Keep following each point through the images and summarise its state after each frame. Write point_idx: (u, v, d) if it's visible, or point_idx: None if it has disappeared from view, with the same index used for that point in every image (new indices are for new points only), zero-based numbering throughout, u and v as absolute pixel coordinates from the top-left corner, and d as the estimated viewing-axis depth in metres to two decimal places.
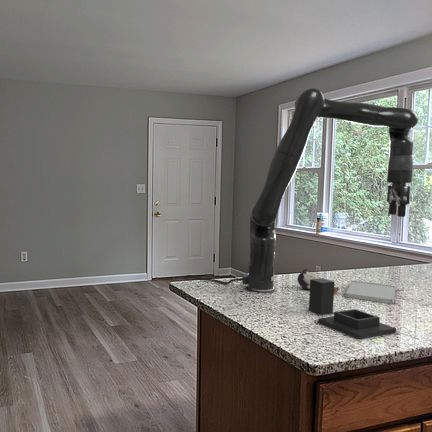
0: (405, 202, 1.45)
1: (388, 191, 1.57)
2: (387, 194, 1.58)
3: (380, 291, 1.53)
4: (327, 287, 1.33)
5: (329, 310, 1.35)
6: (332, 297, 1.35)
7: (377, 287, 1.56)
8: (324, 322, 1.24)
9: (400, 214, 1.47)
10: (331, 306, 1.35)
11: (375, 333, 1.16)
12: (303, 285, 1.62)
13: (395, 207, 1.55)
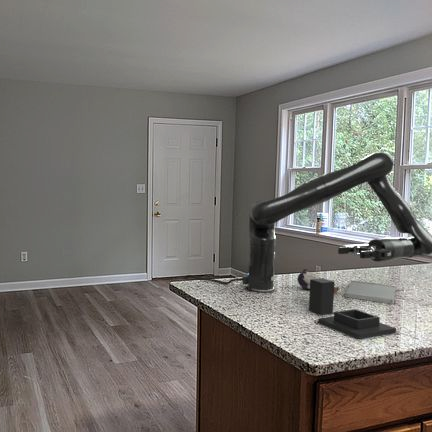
0: (380, 255, 1.35)
1: (352, 244, 1.48)
2: None
3: (380, 291, 1.53)
4: (327, 287, 1.33)
5: (329, 310, 1.35)
6: (332, 297, 1.35)
7: (377, 287, 1.56)
8: (324, 322, 1.24)
9: (365, 253, 1.35)
10: (331, 306, 1.35)
11: (375, 333, 1.16)
12: (303, 285, 1.62)
13: (345, 252, 1.44)
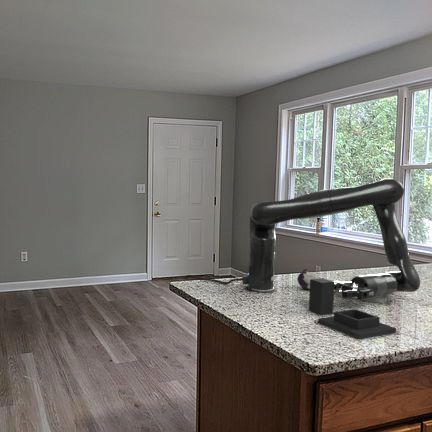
0: (362, 295, 1.33)
1: (336, 281, 1.46)
2: None
3: None
4: (327, 287, 1.33)
5: (329, 310, 1.35)
6: (332, 297, 1.35)
7: None
8: (324, 322, 1.24)
9: (347, 293, 1.33)
10: (331, 306, 1.35)
11: (375, 333, 1.16)
12: (303, 285, 1.62)
13: None
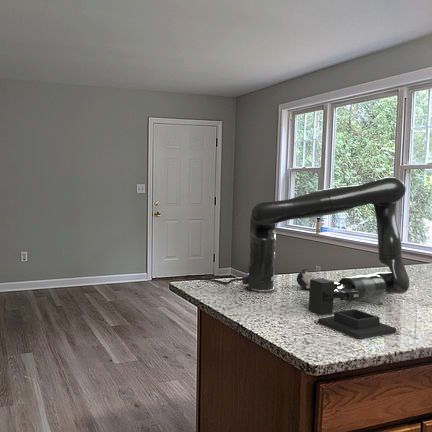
0: (342, 296, 1.32)
1: None
2: None
3: None
4: (327, 287, 1.33)
5: (329, 310, 1.35)
6: None
7: None
8: (324, 322, 1.24)
9: (328, 294, 1.32)
10: (331, 306, 1.35)
11: (375, 333, 1.16)
12: (302, 285, 1.63)
13: None
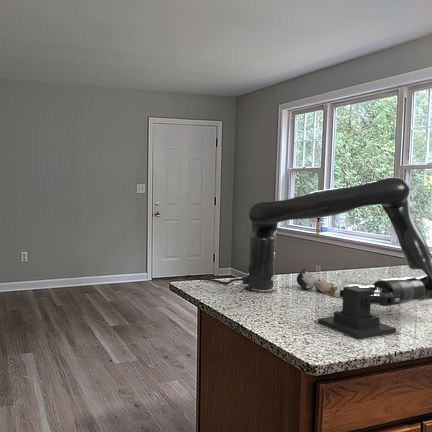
0: (385, 301, 1.17)
1: (355, 285, 1.29)
2: (350, 285, 1.30)
3: None
4: None
5: None
6: (369, 307, 1.20)
7: None
8: (324, 322, 1.24)
9: (368, 298, 1.17)
10: None
11: (375, 333, 1.16)
12: (302, 285, 1.63)
13: None
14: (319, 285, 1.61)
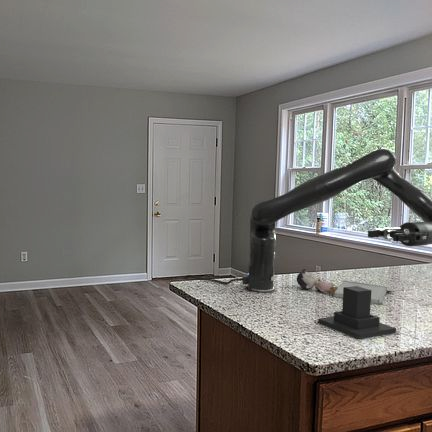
0: (415, 238, 1.25)
1: (382, 228, 1.38)
2: (377, 228, 1.38)
3: None
4: (363, 296, 1.19)
5: None
6: (369, 307, 1.20)
7: (367, 287, 1.55)
8: (324, 322, 1.24)
9: (399, 235, 1.25)
10: None
11: (375, 333, 1.16)
12: (302, 285, 1.63)
13: (375, 236, 1.34)
14: (319, 285, 1.61)
